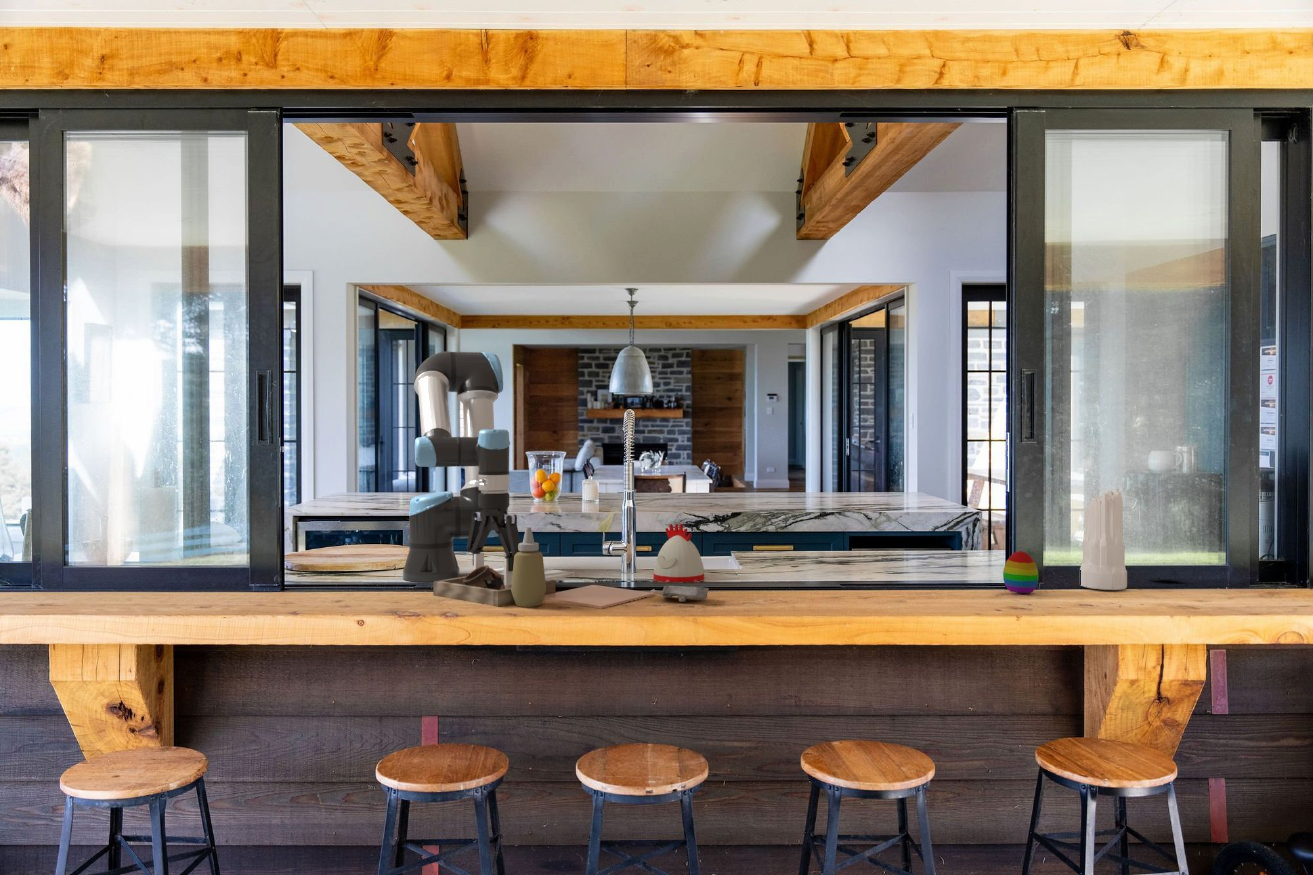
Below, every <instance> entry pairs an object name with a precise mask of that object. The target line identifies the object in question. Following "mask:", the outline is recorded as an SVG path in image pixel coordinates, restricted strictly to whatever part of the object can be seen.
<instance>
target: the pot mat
mask: <svg viewBox="0 0 1313 875" xmlns="http://www.w3.org/2000/svg"><path fill="white" fill-rule="evenodd" d="M653 595H655V596H656V593H653V592H647V591H642V590H641V591H640V590H634V589H627V588H619V587H612V586H611V587H610V586H605V585H604V586H603V585H597V584H590V585H586V586H581V587H576V588H571V589H568V590H563V591H557V592H555V593H552V594H547V595H544V597H543V599H544V600H543V601H549V602H556V603H561V604H562V603H563V604H567V605H568V604H569V605H575V606H579V607H580V606H581V607H586V608H587V607H588V608H595V609H601V610H602V609H606V608H610V607H609V606H611V607H614V605H615V606H617V605H616V604H619V605H622V604H621V603H623V604H626V603H625V602H627V603H629V602H628V601H631V602H634V601H633V600H635V599H639V600H642V599H641V598H643V599H645V598H644V597H647V598H651V597H654V596H653ZM635 601H636V600H635Z"/></svg>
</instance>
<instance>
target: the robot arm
mask: <svg viewBox="0 0 1313 875" xmlns="http://www.w3.org/2000/svg"><path fill="white" fill-rule="evenodd" d="M415 372H416V373H415V374H414V378H413V388H414V391H415V393H416V394H417V396H418V404H419V415H420V416H419V417H420V418H419V419H420V429H421V431H420V432H421V433H420V434H421V437H420V436H419V437H416V438H415V440H414V463H415V465H416V466H417V467H420V468H421V467H422V468H423V467H424V468H425V467H428V468H431V469H432V468H444V467H445V468H449V467H464V475H465V476H464V481H465V483H464V486H462V487H461V489H460V490H459V496H454V493H453V491H452V490H450V491H440V492H439V491H438V492H432V493H431V492H430V493H426V494H425V493H424V494H420V495H416V496H414V497H412V498H411V499H410V501H409V511H408V516H409V534H408V535H409V539H408V541H409V542H408V545H409V550H408V554H407V556H406V557H407V558H406V561H405V564H404V568H403V570H402V579H403V580H404V581H408V582H417V583H418V582H419V583H421V582H423V583H425V582H426V583H427V582H429V583H430V582H431V583H433V582H434V581H440V580H446V579H452V578H458V577H461V576H460V573H461V572H460V567H459V564H458V560H457V557H456V554H455V551H454V539H467V542H466V547H465V548H466V550H467V551H469V552H471V554H472V567H473V571H474V570H475V569H477V568H479V567H482V566H485V553H484V550H483V549H484V547H485V544H486V542H487V539H488V538H494V537H498V538H499V540H500V542H501V545H502V548H503V551H504V553H505V556H504V558H503V563H504V564H503V568H504V585H511V584H512V575H513V565H514V555H515V554H516V553H517V552H520V551H519V550H518V544H519V543H522V542H521V538H520V534H519V528H518V515H516V514H509V507H510V493H509V492H508V491H510V445H511V442H510V432H509V431H508V430H507V429H505V428H504V429H497V428H495V418H494V415H495V413H494V402H496V401H497V399H498V398H499V394H501V393H502V392H503V391H504V375H503V367H502V363H501V360H500V358H499V357H498V355H497V354H495V353H493V352H483V351H480V352H479V351H477V352H475V351H440V352H437V353H434V354H432V355H431V356H429V357H428V358H426V359H425V360H424V361H423V362H422V363H421V364H420V365H419V367H418V368H417V369H416V371H415ZM448 392H449V393H457V395H456V396H457V400H458V401H459V402H460V403H462V412H463V414H462V415H463V436H453V435H452V427H451V417H450V410H449V401H448Z"/></svg>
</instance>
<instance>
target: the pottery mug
mask: <svg viewBox="0 0 1313 875" xmlns="http://www.w3.org/2000/svg"><path fill="white" fill-rule="evenodd" d="M493 569H494V568H493V567H490V566H489V565H488V564H486V565H485V564H484V566H482V567H479V568H477V569H475V570H474V569H473V570H472V571H471V572H469V573H468V574H467V575H465V576H466V577H465V578H466V579H464V580H463V582H464V584H465V585H468V586H475V587H482V588H483V586H482V583H483V581H484V582H485V584H486V587H485V588H488V589H494V590H501V589H506V588H505V585H504V583H503V580H502V578H501V576H500V574H498V572H496V571H495V570H493Z"/></svg>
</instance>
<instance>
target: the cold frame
mask: <svg viewBox="0 0 1313 875" xmlns="http://www.w3.org/2000/svg"><path fill="white" fill-rule="evenodd" d="M492 569H493V570H495V571H496V572H498V574H500V576H501V578H502V580H503V583H504V567H500V568H492ZM544 573H545V582H546V591H545V594H544V595H547V594H552V593H556V580H559V579H564V578H565V579H566V578H570V577H575V576H576V575H577V574H576V572H575V571H567V570H558V569H551V568H545V567H544ZM466 576H467V575H465V576H459V577H458V578H452V579H446V580H440V581H434V582H432V585H433V586H432V587H433V589H432V590H433V591H432V592H433V593H432V594H433V596H434V597H440V598H446V599H450V600H457V601H461V602H462V601H464V602H467V601H468V602H469V603H474V604H480V605H485V604H486V605H485V606H492V607H497V608H498V607H503V606H508V605H513V604H515V601H514V598H513V595H512V592H511V586H512V584H511V585H505V589H501V590H497V589H488V588H487V587H486V584H485V582H484V581H483V583H482V586H483V588H482V587H475V586H468V585H465V584H464V582H463V580H464V579H466V578H465V577H466ZM468 602H467V603H468Z"/></svg>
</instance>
